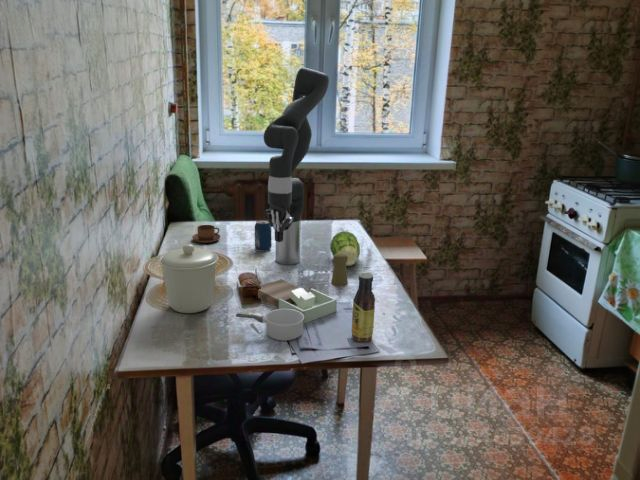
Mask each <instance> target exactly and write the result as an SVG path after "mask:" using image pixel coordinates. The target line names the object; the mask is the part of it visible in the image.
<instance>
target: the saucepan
mask: <svg viewBox="0 0 640 480" xmlns="http://www.w3.org/2000/svg"><path fill="white" fill-rule="evenodd" d="M235 317H236V318H237V317H238V318H246V319H254V320H255V321H256V322H258V323H261V324H265V325H266V327H265V329H266V330H265V332H266V335H267V336H268V337H270V338H272V339H273V340H277V341H291V340H295V339H297V338H299V337H301V336H302V334H303V332H304V330H303V329H304V324H303V320H304V315H303V313H301V312H299V311H297V310H293V309H278V308H276V309H273V310H270V311H268V312H267V313H266V314H265V316H264V315H261V316H260V315H256V314H249V313H239V312H238V313H236V314H235Z"/></svg>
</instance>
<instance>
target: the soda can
mask: <svg viewBox="0 0 640 480" xmlns="http://www.w3.org/2000/svg"><path fill="white" fill-rule="evenodd" d="M254 248H255V249H256V251H258V252H268V251H270V250H271V248H272V227H271V226H270V223H269V221H268V219H259V220H257V221H256V222H255V224H254Z"/></svg>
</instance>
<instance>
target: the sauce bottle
mask: <svg viewBox="0 0 640 480" xmlns="http://www.w3.org/2000/svg"><path fill="white" fill-rule="evenodd" d="M373 282H374V275H373V274H372V273H368V272H363V273H360V274H359V275H358V288H357V291H356V293H355V295H354V298H353V301H352V314H351V315H352V316H351V317H352V319H351V338H352V339H353V340H354V341H356V342H362V343H364V342H365V343H367V342H369V341H371V340H372V337H373V334H374V322H375V309H376V308H375V307H376V306H375V304H376V303H375V302H376V296H375V293H374V292H373Z"/></svg>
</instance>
